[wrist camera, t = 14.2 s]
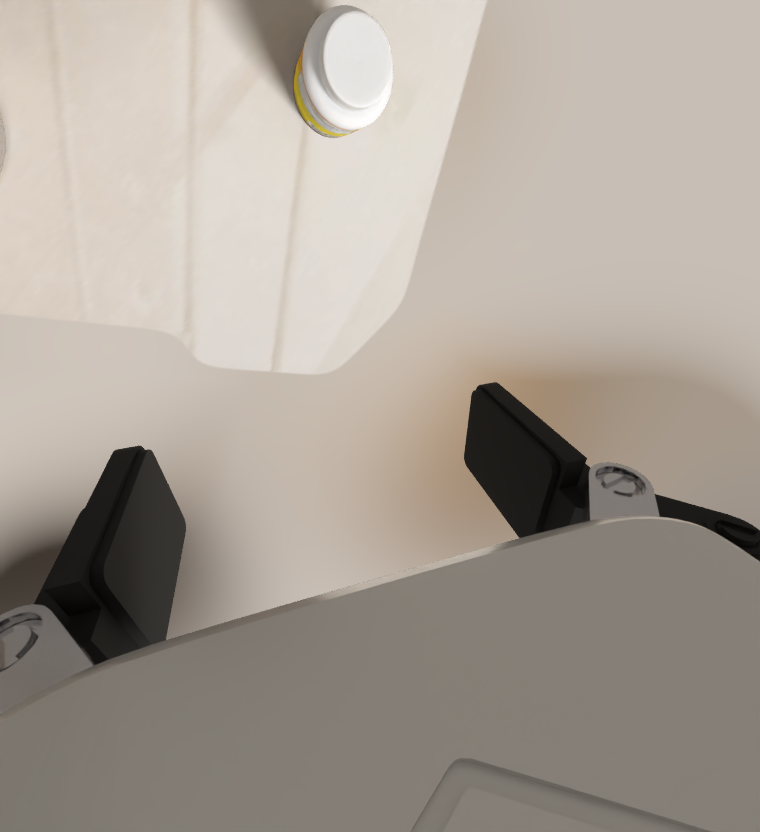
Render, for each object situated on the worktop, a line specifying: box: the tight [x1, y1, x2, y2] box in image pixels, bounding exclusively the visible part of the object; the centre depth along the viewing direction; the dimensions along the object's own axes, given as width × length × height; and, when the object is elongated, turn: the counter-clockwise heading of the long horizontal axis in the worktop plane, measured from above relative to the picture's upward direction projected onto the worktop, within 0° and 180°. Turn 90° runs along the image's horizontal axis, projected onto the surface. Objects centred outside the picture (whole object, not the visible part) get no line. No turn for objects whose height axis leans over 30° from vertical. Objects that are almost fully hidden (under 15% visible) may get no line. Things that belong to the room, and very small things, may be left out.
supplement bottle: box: [293, 5, 393, 138], centre depth 24 cm, size 6×6×10 cm
